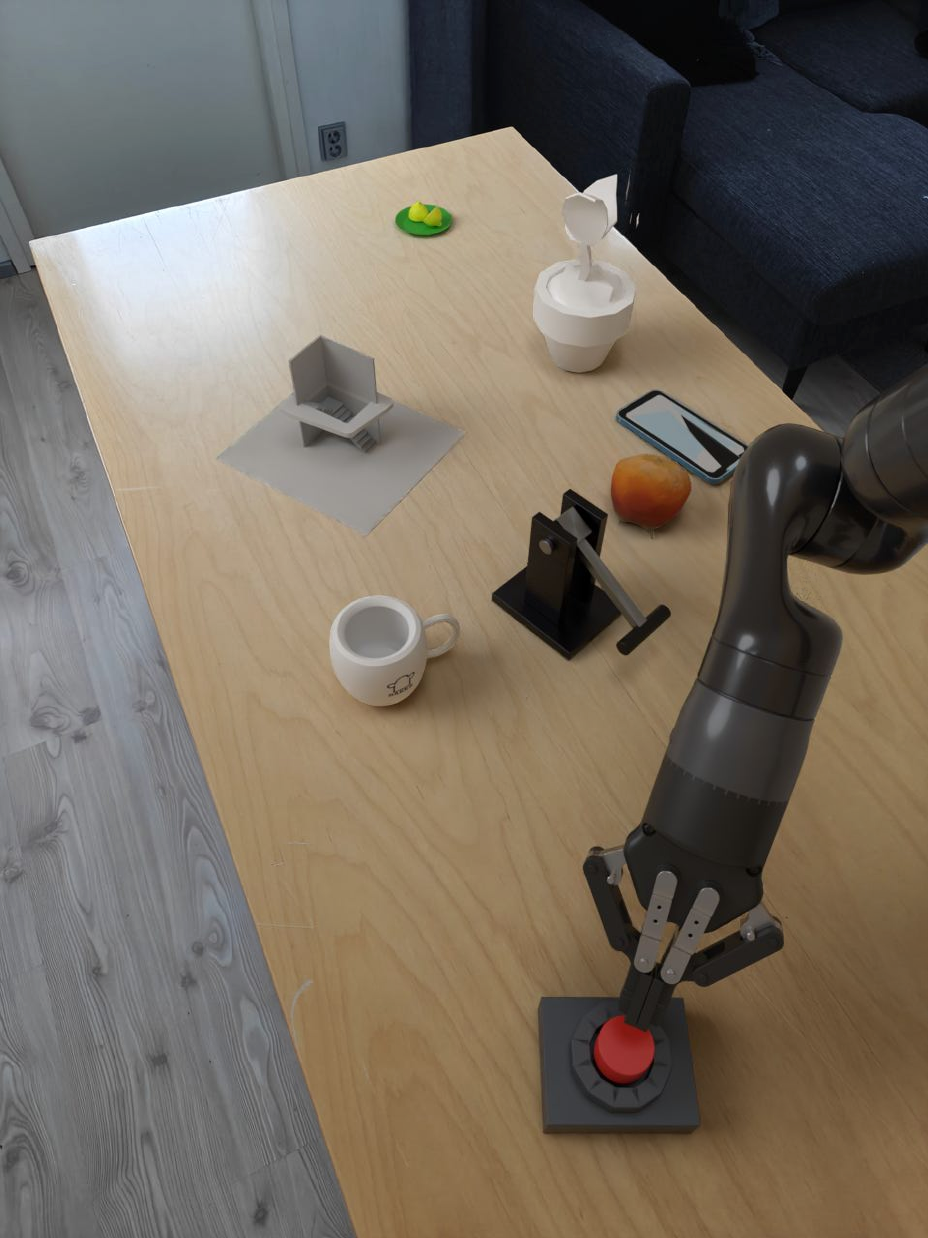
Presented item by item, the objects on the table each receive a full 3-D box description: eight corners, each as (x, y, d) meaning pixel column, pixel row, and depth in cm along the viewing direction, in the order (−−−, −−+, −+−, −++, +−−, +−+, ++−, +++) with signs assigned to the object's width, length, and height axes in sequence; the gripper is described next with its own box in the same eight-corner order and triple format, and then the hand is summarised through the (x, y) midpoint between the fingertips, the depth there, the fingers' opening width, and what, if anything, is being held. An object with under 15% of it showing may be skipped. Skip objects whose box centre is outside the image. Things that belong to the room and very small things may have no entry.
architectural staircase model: (366, 536, 95) (356, 451, 86) (214, 458, 102) (190, 372, 92) (466, 432, 105) (467, 346, 95) (322, 367, 111) (310, 281, 102)
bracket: (623, 613, 89) (645, 521, 79) (568, 661, 86) (584, 572, 76) (546, 557, 93) (557, 463, 83) (491, 600, 90) (495, 508, 80)
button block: (675, 1009, 67) (688, 990, 63) (691, 1134, 62) (707, 1121, 58) (537, 1008, 67) (542, 989, 63) (543, 1133, 62) (549, 1121, 58)
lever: (662, 620, 84) (677, 613, 81) (620, 658, 81) (634, 652, 79) (574, 504, 83) (587, 494, 81) (529, 539, 81) (541, 530, 78)
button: (645, 1025, 62) (651, 1015, 60) (651, 1084, 60) (658, 1076, 58) (591, 1025, 62) (596, 1015, 60) (596, 1084, 60) (601, 1075, 58)
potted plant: (600, 400, 108) (633, 192, 88) (512, 368, 111) (525, 161, 92) (643, 343, 115) (683, 137, 95) (558, 314, 118) (580, 110, 98)
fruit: (592, 530, 94) (613, 453, 91) (606, 513, 101) (625, 441, 98) (670, 552, 92) (694, 475, 89) (678, 533, 99) (701, 461, 96)
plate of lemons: (461, 215, 132) (461, 196, 130) (437, 244, 128) (437, 224, 125) (410, 203, 134) (410, 184, 132) (385, 230, 130) (384, 211, 127)
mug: (355, 733, 81) (346, 684, 75) (322, 660, 86) (312, 608, 79) (479, 685, 84) (481, 634, 78) (441, 617, 89) (440, 564, 82)
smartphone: (656, 386, 108) (758, 451, 101) (655, 393, 109) (756, 458, 102) (612, 413, 105) (715, 482, 98) (611, 420, 106) (713, 488, 99)
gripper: (614, 743, 53) (524, 1007, 56) (849, 829, 50) (741, 1104, 53) (628, 717, 60) (547, 953, 63) (834, 791, 57) (739, 1035, 60)
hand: (636, 1021), depth 58 cm, fingers closed
